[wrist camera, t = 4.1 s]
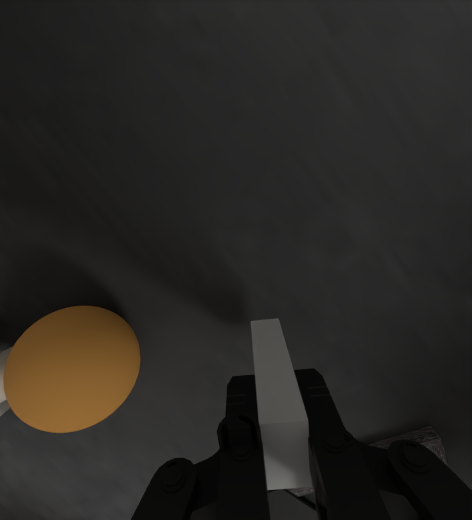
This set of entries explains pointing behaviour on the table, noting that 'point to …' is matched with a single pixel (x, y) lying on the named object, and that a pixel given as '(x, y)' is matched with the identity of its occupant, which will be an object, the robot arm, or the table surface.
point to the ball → (71, 369)
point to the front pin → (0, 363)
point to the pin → (4, 407)
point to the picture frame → (303, 499)
